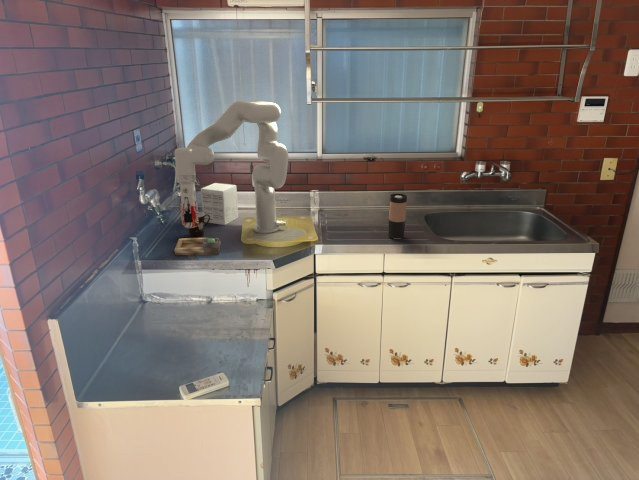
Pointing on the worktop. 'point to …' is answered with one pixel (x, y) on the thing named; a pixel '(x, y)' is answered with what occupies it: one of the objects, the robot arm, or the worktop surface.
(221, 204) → the supplement box
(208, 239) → the button
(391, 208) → the travel mug
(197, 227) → the coffee mug
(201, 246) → the wooden tray
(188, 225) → the soda can
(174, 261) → the worktop surface
